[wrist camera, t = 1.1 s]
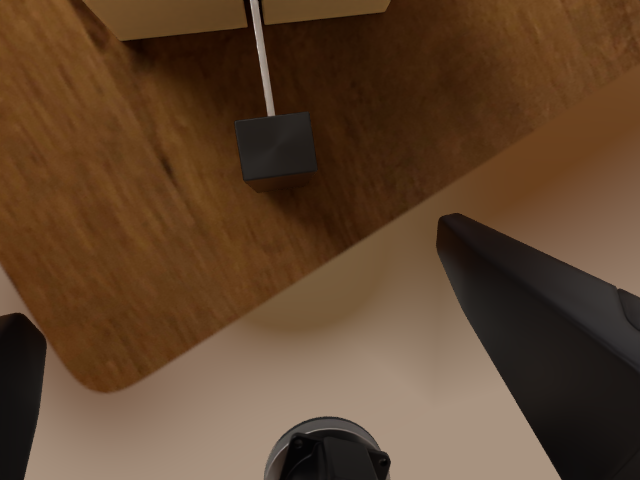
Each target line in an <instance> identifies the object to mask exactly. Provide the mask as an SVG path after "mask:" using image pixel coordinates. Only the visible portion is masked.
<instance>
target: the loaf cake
mask: <svg viewBox="0 0 640 480" xmlns="http://www.w3.org/2000/svg"><path fill="white" fill-rule="evenodd" d="M390 1H391V0H261V5H262V12H263V18H264V24H265V25H270V24H279V23H288V22H298V21H307V20H316V19H325V18H335V17H344V16H353V15H362V14H371V13H381V12H385V11H386V9H387V7H388V5H389V3H390ZM83 2H84V3H85V4H86V5H87V6H88V7H89V8H90V9H91V10H92V11H93V12H94V13H95V14H96V16H97V17H98V18H99V19H100V20H101V21H102V22H103V23H104V24H105V25H106V26H107V27H108V28H109V30H110V31H111V32H112V33H113V34H114V35H115V36H116V37H117V38H118V39H119V40H120V41H125V40H134V39H143V38H153V37H162V36H171V35H180V34H190V33H199V32H208V31H217V30H227V29H236V28H245V27H248V24H247V18H246V11H245V5H244V0H83Z"/></svg>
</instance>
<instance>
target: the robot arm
mask: <svg viewBox="0 0 640 480" xmlns="http://www.w3.org/2000/svg"><path fill="white" fill-rule="evenodd" d="M436 247H437V252H438V255H439V258H440V260H441V262H442V264H443V267H444V269H445V271H446V274H447V276H448V278H449V280H450V283H451V285H452V287H453V290H454V292H455V294H456V296H457V299H458V301H459V303H460V305H461V308H462V310H463V311H464V313H465V315H466V317H467V319H468V320H469V322H470V324H471V326H472V327H473V329H474V331H475V333H476V334H477V336H478V338H479V339H480V341H481V343H482V344H483V346H484V348H485V349H486V351H487V353H488V354H489V356H490V358H491V360H492V361H493V363H494V365H495V367H496V368H497V370H498V372H499V374H500V375H501V377H502V379H503V380H504V382H505V383H506V385H507V387H508V389H509V391H510V392H511V394H512V395H513V397H514V399H515V400H516V403H517V404H518V406H519V408H520V409H521V411H522V413H523V414H524V416H525V418H526V420H527V421H528V423H529V425H530V426H531V428H532V429H533V432H534V433H535V435H536V436H537V438H538V440H539V442H540V443H541V445H542V447H543V448H544V450H545V452H546V454H547V455H548V457H549V459H550V460H551V462H552V464H553V466H554V467H555V469H556V471H557V472H558V474H559V476H560V478H561V479H562V480H640V298H639V297H638V296H635V295H633V294H631V293H629V292H627V291H625V290H623V289H617V288H616V286H614V285H612V284H610V283H607V282H605V281H603V280H601V279H599V278H597V277H594V276H592V275H590V274H588V273H586V272H584V271H582V270H580V269H577V268H575V267H573V266H571V265H569V264H567V263H565V262H562V261H560V260H558V259H556V258H554V257H552V256H550V255H548V254H545V253H543V252H541V251H539V250H537V249H535V248H532V247H530V246H528V245H526V244H524V243H522V242H520V241H517V240H515V239H513V238H511V237H509V236H507V235H505V234H503V233H500V232H498V231H496V230H494V229H492V228H490V227H488V226H485V225H483V224H481V223H479V222H477V221H475V220H473V219H471V218H468V217H466V216H464V215H462V214H459V213H453V214H450V215H445V216H442V217H440V218H439V221H438V230H437V241H436ZM46 349H47V344H46V339H45V337H44V335H43V334H42V333H41V332H40V331H39V330H38V329H37V328H36V326H35V325H34V324H33V323H32V322H31V321H30V320H29V319H28V318H27V317H26V316H25V315H24V314H21V313H13V314H8V315H3V316H0V480H24V477H25V472H26V468H27V464H28V459H29V455H30V451H31V446H32V442H33V438H34V433H35V429H36V425H37V420H38V415H39V408H40V401H41V392H42V383H43V375H44V366H45V357H46ZM296 440H301V443H299V444H296V443H294V442H295V441H296ZM381 459H385V461H384V462H383V463H379V461H380V460H381ZM390 464H391V461H390V458H389V456H388V454H387V453H385V452H383V451H379V450H374V449H370V448H366V447H365V445H364V444H360V443H355V442H351V441H347V440H342V439H338V438H334V437H329V436H327V437H325V438H322V437H318V436H314V435H309V434H305V433H300V432H296V433H294V434H293V435H291V437H290V440H289V443H288V447H287V450H286V454H285V457H284V460H283V464H282V467H281V471H280V474H279V478H278V480H386V478H387V474H388V471H389V467H390Z"/></svg>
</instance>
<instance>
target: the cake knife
mask: <svg viewBox="0 0 640 480" xmlns="http://www.w3.org/2000/svg"><path fill="white" fill-rule="evenodd" d="M250 5H251V12H252V18H253V25H254V31H255V38H256V44H257V50H258V57H259V63H260V70H261V76H262V83H263V89H264V96H265V102H266V109H267V115H268V116H267V117H260V118H252V119H244V120H236V121H234V125H235V131H236V138H237V144H238V150H239V156H240V163H241V169H242V175H243V180H244V181H245V182H246V183H247V184H248V185H249V186H250V187H251V188H252V189H254V190H255V191H256V192H257V193H262V192H269V191H276V190H283V189H290V188H297V187H304V186H306V185H307V183H308V182H309V181H310V179H311V178H312V177H313V176H314V174H315V173H316V172H317V170H318V168H317V161H316V154H315V148H314V141H313V134H312V127H311V120H310V113H309V112H299V113H291V114H283V115H275V111H274V104H273V97H272V91H271V84H270V78H269V71H268V65H267V58H266V52H265V45H264V39H263V32H262V26H261V19H260V12H259V6H258V0H250Z"/></svg>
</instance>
